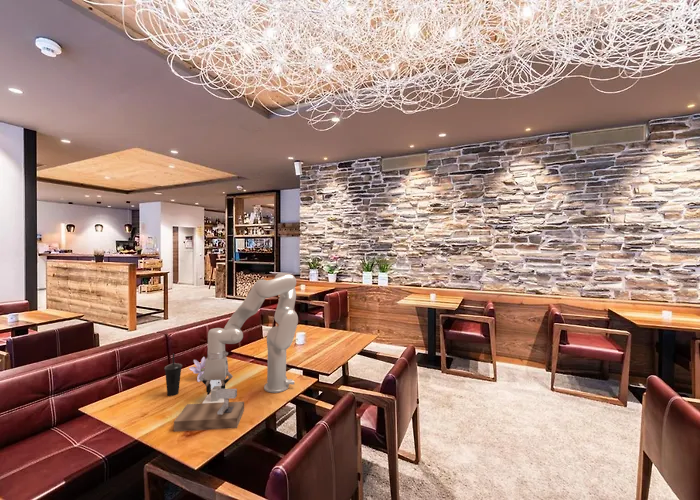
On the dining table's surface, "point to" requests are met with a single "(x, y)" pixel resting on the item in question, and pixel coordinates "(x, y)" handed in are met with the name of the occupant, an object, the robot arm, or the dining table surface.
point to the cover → (213, 396)
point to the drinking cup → (173, 378)
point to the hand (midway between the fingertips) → (215, 392)
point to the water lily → (198, 368)
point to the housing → (208, 416)
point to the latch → (225, 398)
